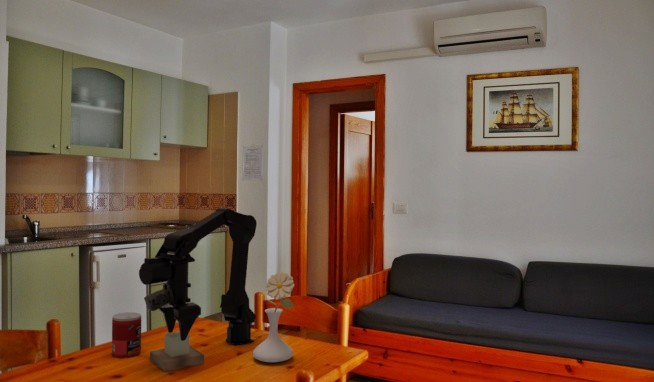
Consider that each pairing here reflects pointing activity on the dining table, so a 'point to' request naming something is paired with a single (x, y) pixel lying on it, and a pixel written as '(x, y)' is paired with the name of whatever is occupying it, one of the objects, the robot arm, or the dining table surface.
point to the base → (176, 359)
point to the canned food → (126, 334)
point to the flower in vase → (276, 320)
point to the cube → (176, 344)
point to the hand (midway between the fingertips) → (176, 336)
